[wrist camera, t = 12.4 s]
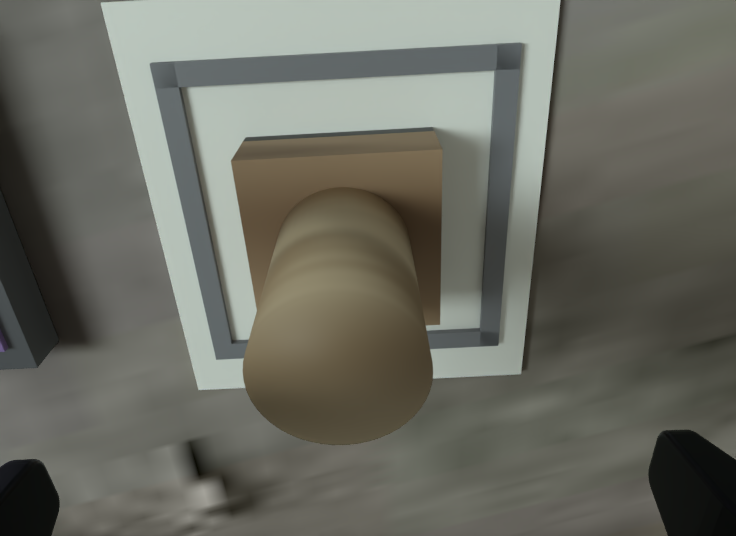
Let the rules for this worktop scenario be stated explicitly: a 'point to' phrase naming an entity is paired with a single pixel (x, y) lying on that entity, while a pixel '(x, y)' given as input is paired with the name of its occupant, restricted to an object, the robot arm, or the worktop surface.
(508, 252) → the sheet
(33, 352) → the ink pad
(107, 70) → the worktop surface
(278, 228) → the stamp
